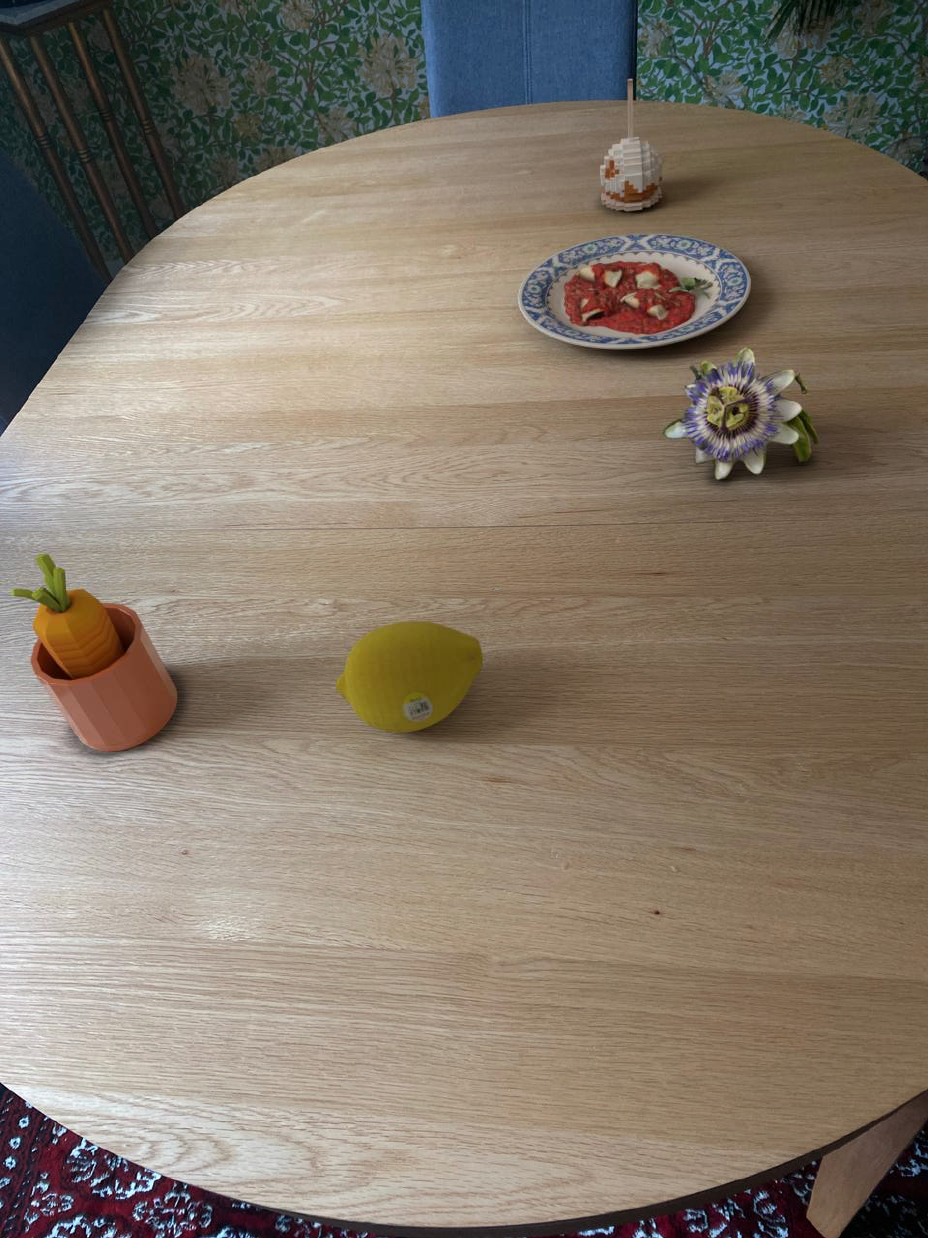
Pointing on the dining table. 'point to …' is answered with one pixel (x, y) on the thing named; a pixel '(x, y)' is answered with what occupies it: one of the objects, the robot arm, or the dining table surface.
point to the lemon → (409, 674)
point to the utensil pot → (113, 689)
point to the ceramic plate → (634, 291)
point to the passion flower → (742, 415)
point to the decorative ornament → (631, 170)
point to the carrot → (72, 624)
